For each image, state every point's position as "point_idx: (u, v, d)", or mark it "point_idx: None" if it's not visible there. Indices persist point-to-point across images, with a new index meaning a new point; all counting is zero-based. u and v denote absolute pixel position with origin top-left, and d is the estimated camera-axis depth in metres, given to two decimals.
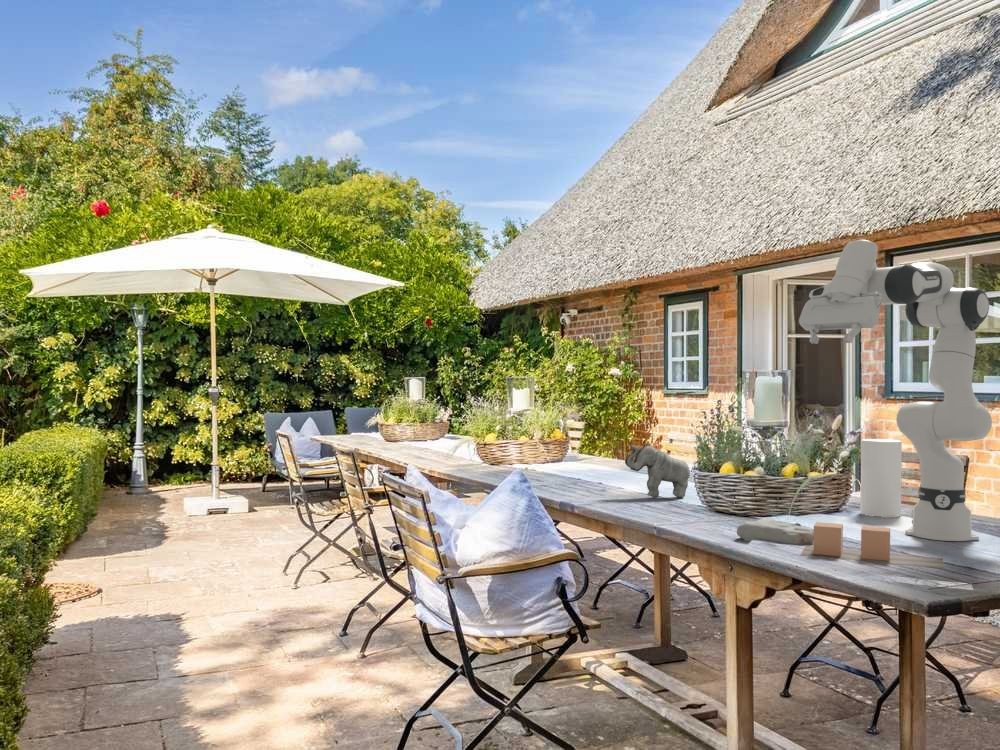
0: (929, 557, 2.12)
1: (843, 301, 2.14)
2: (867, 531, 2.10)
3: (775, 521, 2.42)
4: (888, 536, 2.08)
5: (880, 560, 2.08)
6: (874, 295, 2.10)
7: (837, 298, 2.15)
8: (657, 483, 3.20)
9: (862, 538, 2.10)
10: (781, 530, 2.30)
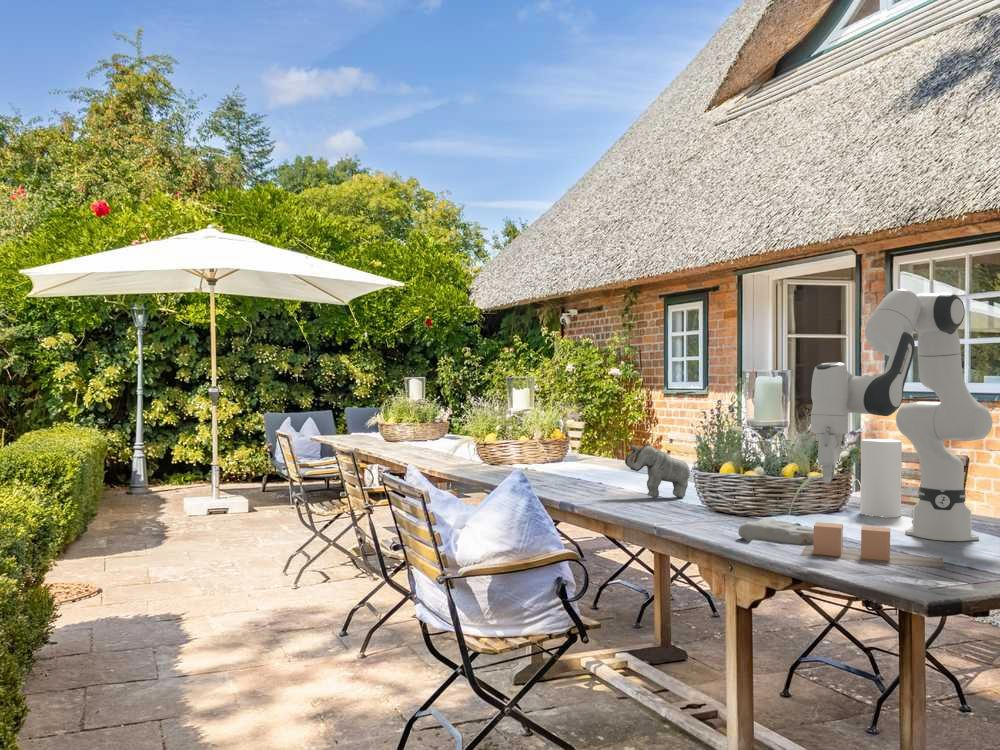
0: (929, 557, 2.12)
1: (819, 439, 2.16)
2: (867, 531, 2.10)
3: (776, 521, 2.42)
4: (888, 536, 2.08)
5: (880, 560, 2.08)
6: (824, 431, 2.09)
7: (816, 437, 2.18)
8: (657, 483, 3.20)
9: (862, 538, 2.10)
10: (784, 530, 2.30)
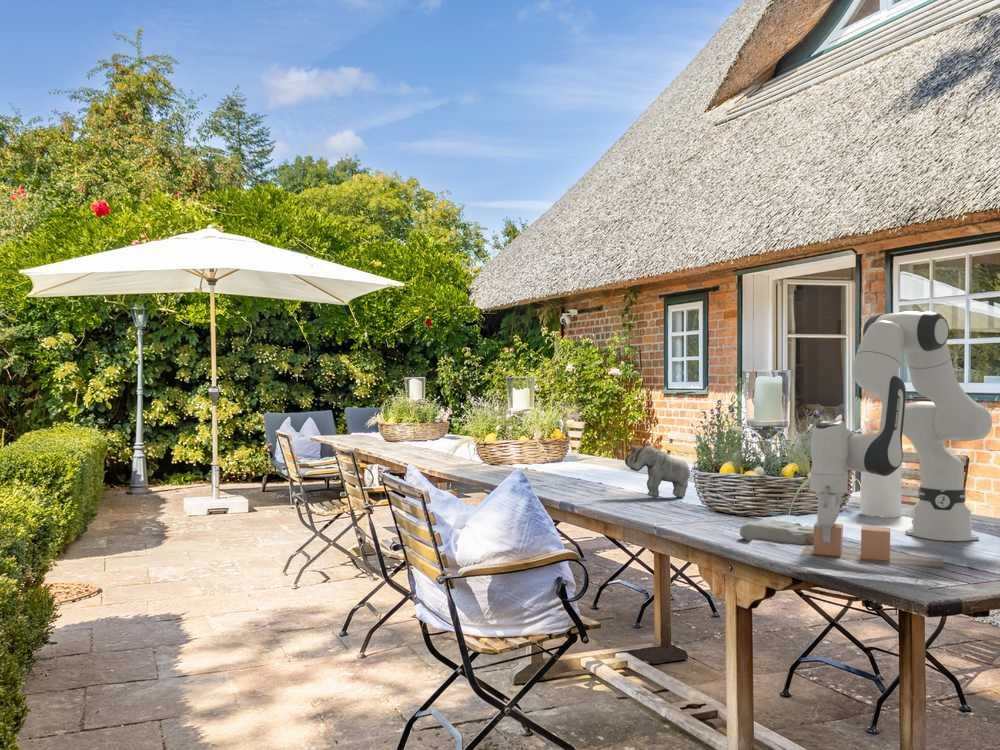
0: (929, 557, 2.12)
1: None
2: (867, 531, 2.10)
3: (777, 521, 2.42)
4: (888, 536, 2.08)
5: (880, 560, 2.08)
6: (824, 492, 2.09)
7: (815, 495, 2.18)
8: (657, 483, 3.20)
9: (862, 538, 2.10)
10: (786, 530, 2.30)
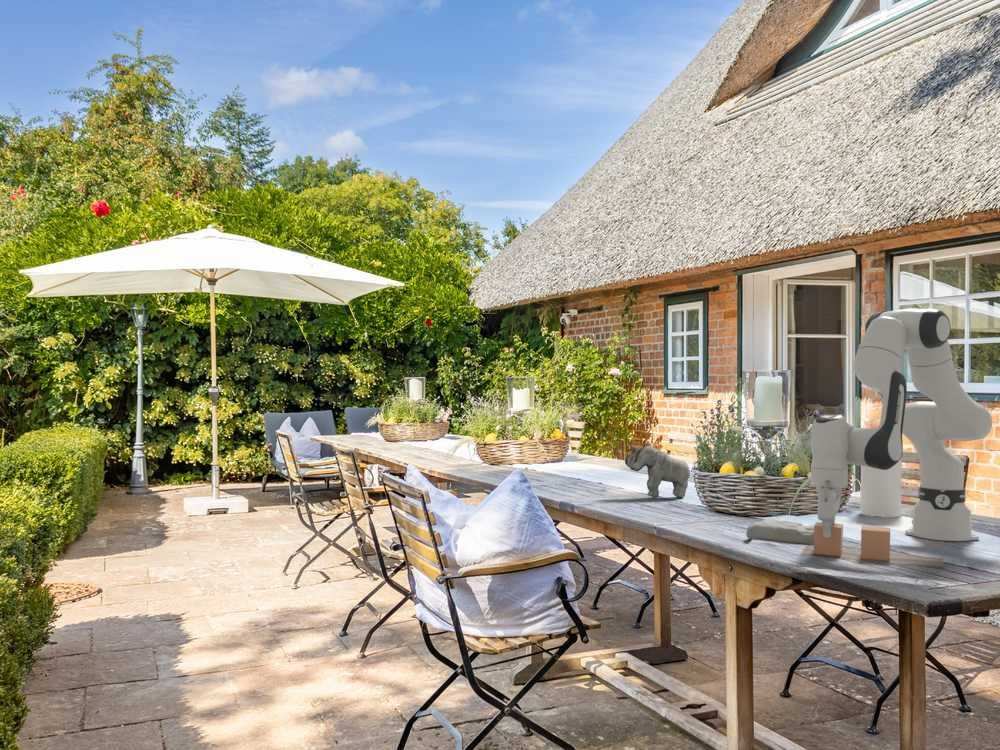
0: (929, 557, 2.12)
1: (819, 492, 2.16)
2: (867, 531, 2.10)
3: (781, 521, 2.42)
4: (888, 536, 2.08)
5: (880, 560, 2.08)
6: (824, 486, 2.09)
7: None
8: (657, 483, 3.20)
9: (862, 538, 2.10)
10: (796, 530, 2.30)
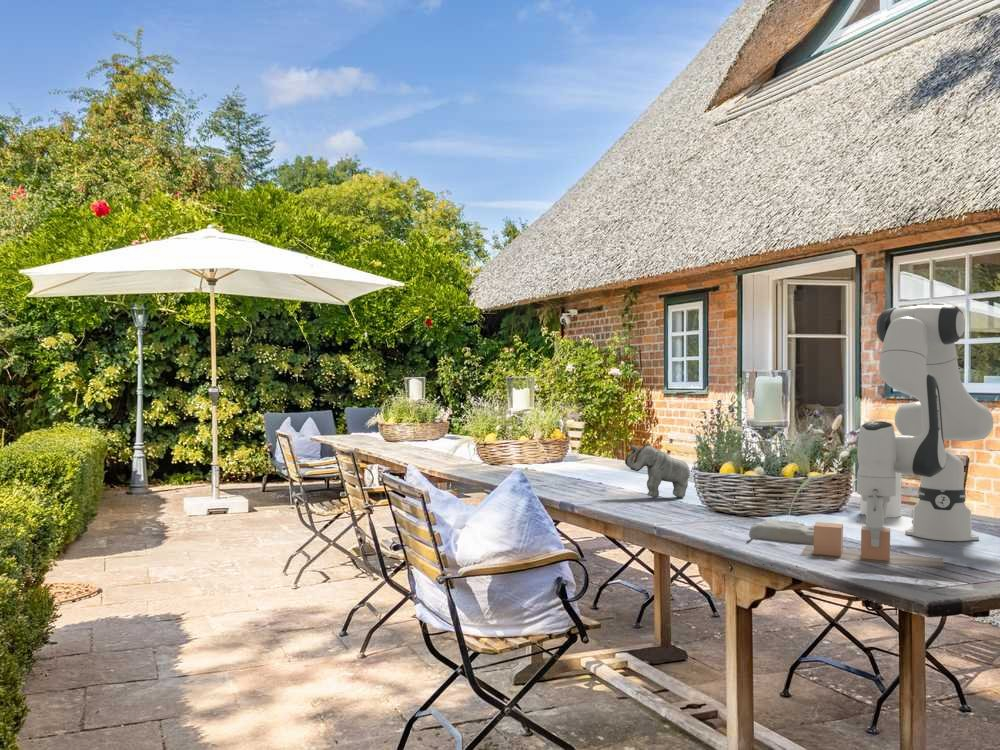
0: (929, 557, 2.12)
1: (866, 501, 2.11)
2: (867, 531, 2.10)
3: (782, 521, 2.42)
4: (888, 536, 2.08)
5: (880, 560, 2.08)
6: (873, 495, 2.04)
7: (862, 498, 2.13)
8: (657, 483, 3.20)
9: (862, 538, 2.10)
10: (800, 530, 2.30)
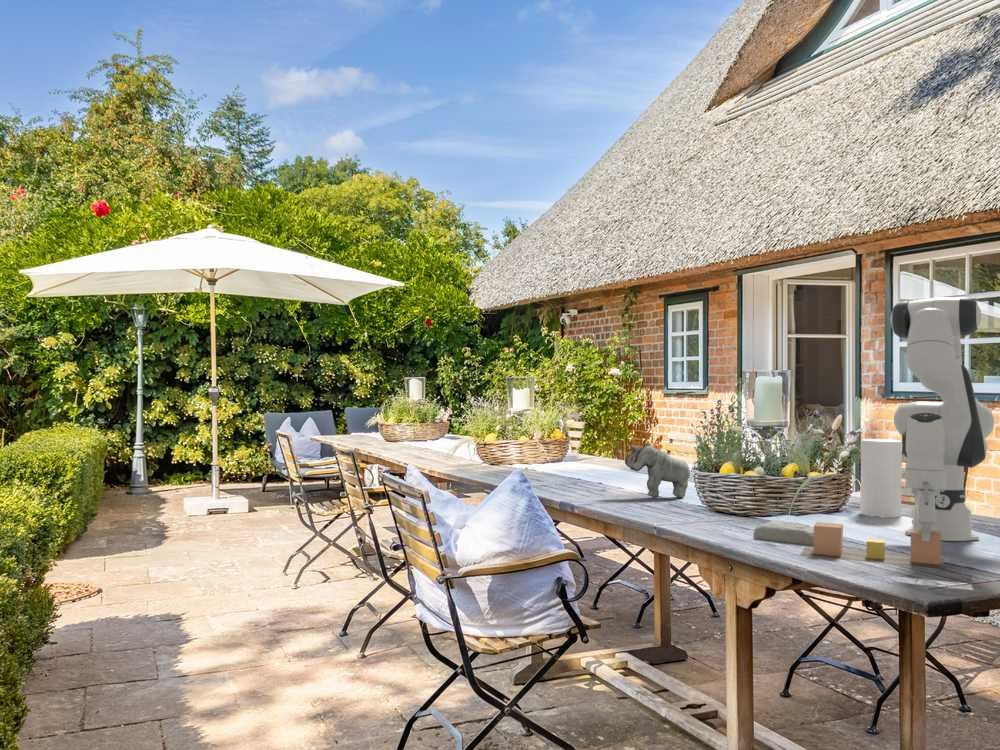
0: None
1: None
2: (917, 534, 2.05)
3: (788, 522, 2.40)
4: (939, 539, 2.03)
5: (880, 560, 2.08)
6: (924, 488, 2.01)
7: (911, 491, 2.09)
8: (657, 483, 3.20)
9: (912, 541, 2.06)
10: (804, 532, 2.28)
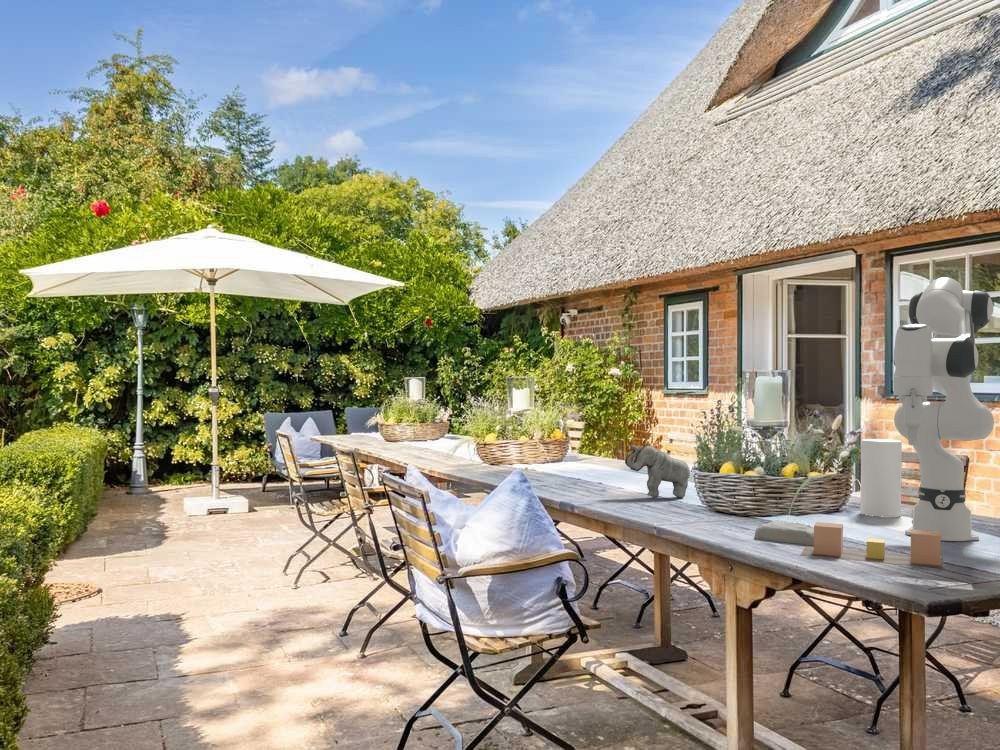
0: None
1: (903, 401, 2.13)
2: (917, 535, 2.05)
3: (789, 523, 2.40)
4: (939, 540, 2.03)
5: (880, 560, 2.08)
6: (911, 393, 2.07)
7: (899, 400, 2.15)
8: (657, 483, 3.20)
9: (912, 542, 2.05)
10: (805, 532, 2.27)
